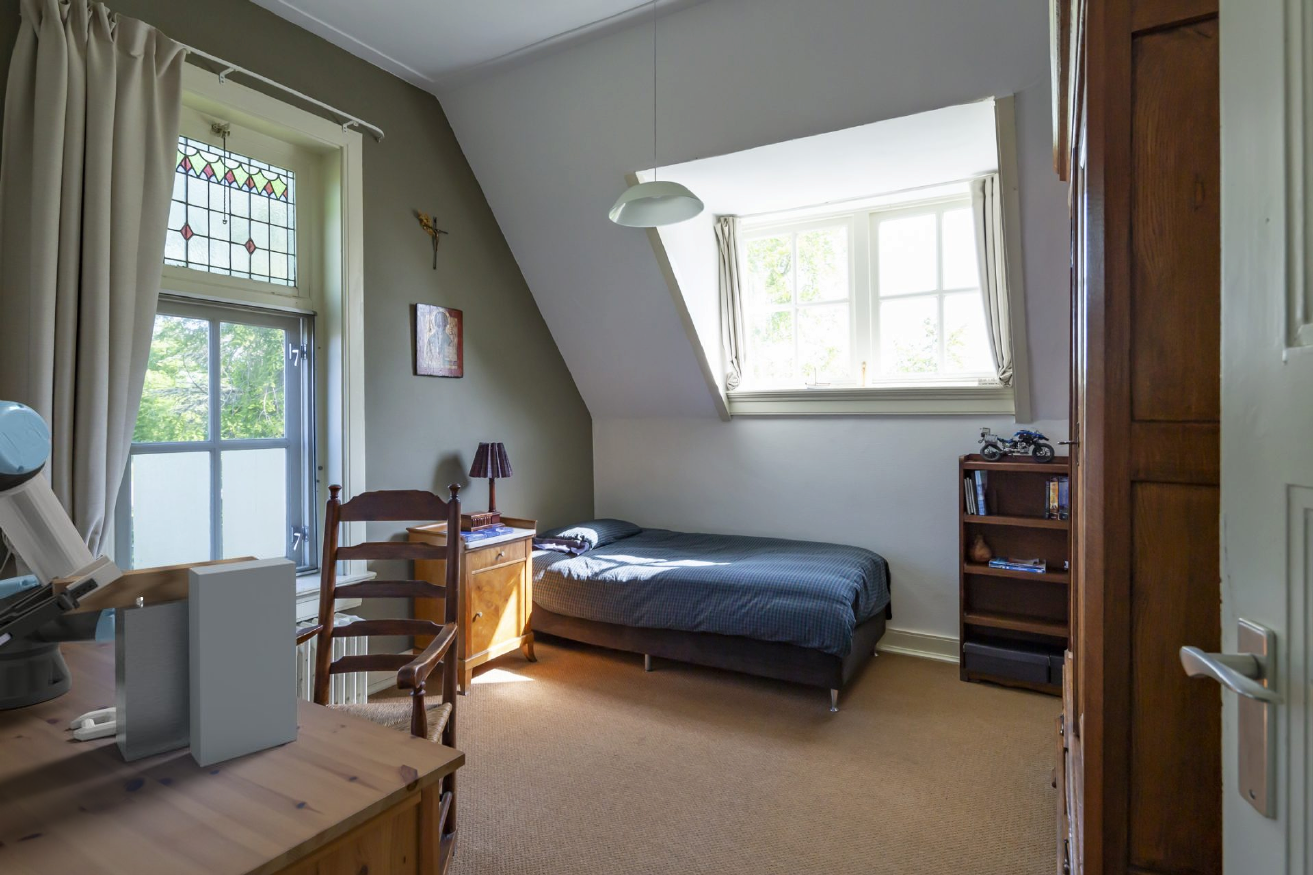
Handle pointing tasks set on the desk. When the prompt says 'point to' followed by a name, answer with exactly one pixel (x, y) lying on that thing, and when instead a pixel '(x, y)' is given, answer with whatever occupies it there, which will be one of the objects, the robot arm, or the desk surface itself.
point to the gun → (95, 724)
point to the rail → (139, 586)
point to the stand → (242, 658)
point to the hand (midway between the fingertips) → (114, 564)
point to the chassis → (152, 677)
